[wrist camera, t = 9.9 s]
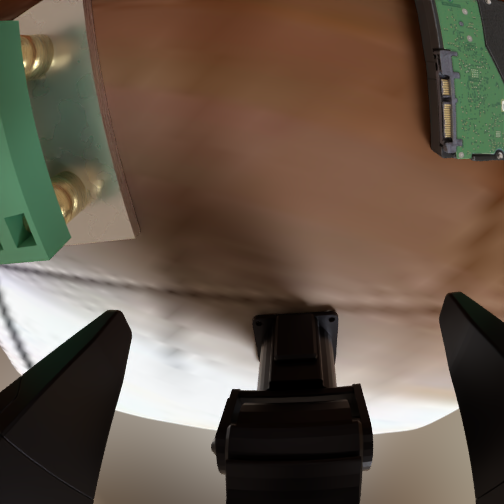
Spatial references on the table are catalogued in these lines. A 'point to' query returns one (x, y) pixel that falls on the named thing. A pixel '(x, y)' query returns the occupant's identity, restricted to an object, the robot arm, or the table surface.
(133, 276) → the table surface
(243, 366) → the table surface
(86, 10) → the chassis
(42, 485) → the robot arm
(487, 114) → the disk drive
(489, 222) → the table surface
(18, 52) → the board
